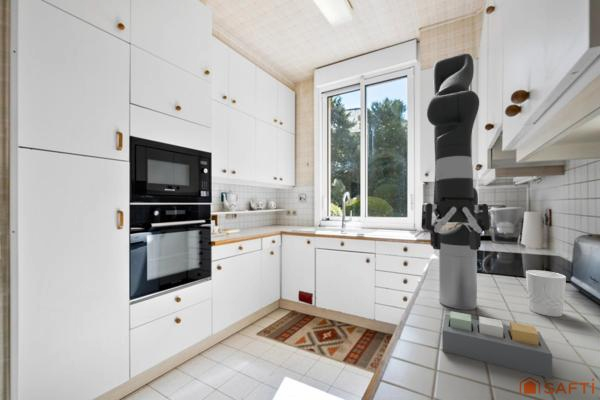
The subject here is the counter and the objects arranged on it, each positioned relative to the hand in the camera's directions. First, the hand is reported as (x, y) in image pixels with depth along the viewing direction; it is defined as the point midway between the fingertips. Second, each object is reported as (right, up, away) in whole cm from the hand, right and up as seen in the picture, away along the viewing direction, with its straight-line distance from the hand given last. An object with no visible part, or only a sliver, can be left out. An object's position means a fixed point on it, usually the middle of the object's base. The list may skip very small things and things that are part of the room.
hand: (455, 249), depth 62 cm
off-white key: (+2, -14, -9) cm, 17 cm away
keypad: (+2, -18, -9) cm, 20 cm away
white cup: (+30, -19, +10) cm, 36 cm away
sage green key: (-3, -14, -6) cm, 16 cm away
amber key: (+6, -14, -12) cm, 19 cm away
